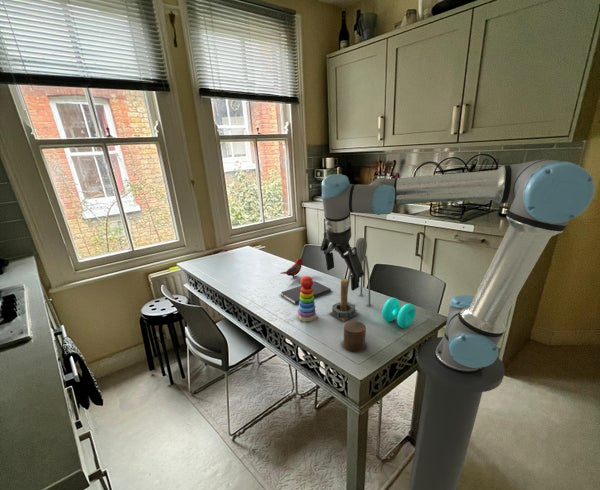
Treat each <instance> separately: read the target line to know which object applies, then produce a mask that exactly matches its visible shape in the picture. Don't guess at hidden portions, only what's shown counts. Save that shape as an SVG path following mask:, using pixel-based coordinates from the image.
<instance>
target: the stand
mask: <svg viewBox="0 0 600 490" xmlns="http://www.w3.org/2000/svg"><path fill="white" fill-rule="evenodd" d="M366 330H367V326H366V325H365V324H364V322H361V321H358V320H350V321H347V322H345V323H344V325H343V348H344V349H345V350H346V351H349V352H353V353H356V352H361V351H363V350H364V349H365V347H366V334H367V333H366V332H367V331H366Z"/></svg>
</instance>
